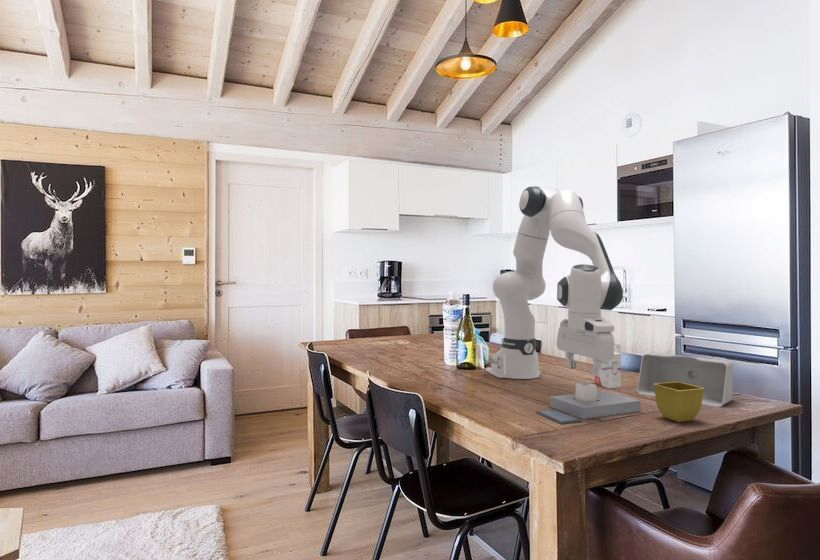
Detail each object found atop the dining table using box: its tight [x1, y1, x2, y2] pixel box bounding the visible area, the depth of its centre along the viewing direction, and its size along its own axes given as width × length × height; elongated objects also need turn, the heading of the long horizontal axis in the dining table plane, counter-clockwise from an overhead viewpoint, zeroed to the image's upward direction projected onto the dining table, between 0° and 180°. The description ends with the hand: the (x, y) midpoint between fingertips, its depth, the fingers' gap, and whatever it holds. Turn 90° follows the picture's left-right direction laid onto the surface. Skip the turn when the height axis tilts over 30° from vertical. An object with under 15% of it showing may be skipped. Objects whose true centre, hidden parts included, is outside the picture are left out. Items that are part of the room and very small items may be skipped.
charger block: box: [575, 381, 598, 403], centre depth 153 cm, size 4×4×8 cm
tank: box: [636, 352, 734, 408], centre depth 170 cm, size 25×16×12 cm, turn 44°
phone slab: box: [535, 409, 583, 425], centre depth 145 cm, size 12×6×1 cm, turn 19°
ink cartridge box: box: [594, 342, 622, 389], centre depth 185 cm, size 9×5×15 cm, turn 14°
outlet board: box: [549, 390, 641, 420], centre depth 154 cm, size 14×20×3 cm
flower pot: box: [654, 382, 704, 423], centre depth 143 cm, size 9×9×9 cm
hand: (582, 371), depth 153 cm, fingers open, 8 cm apart
